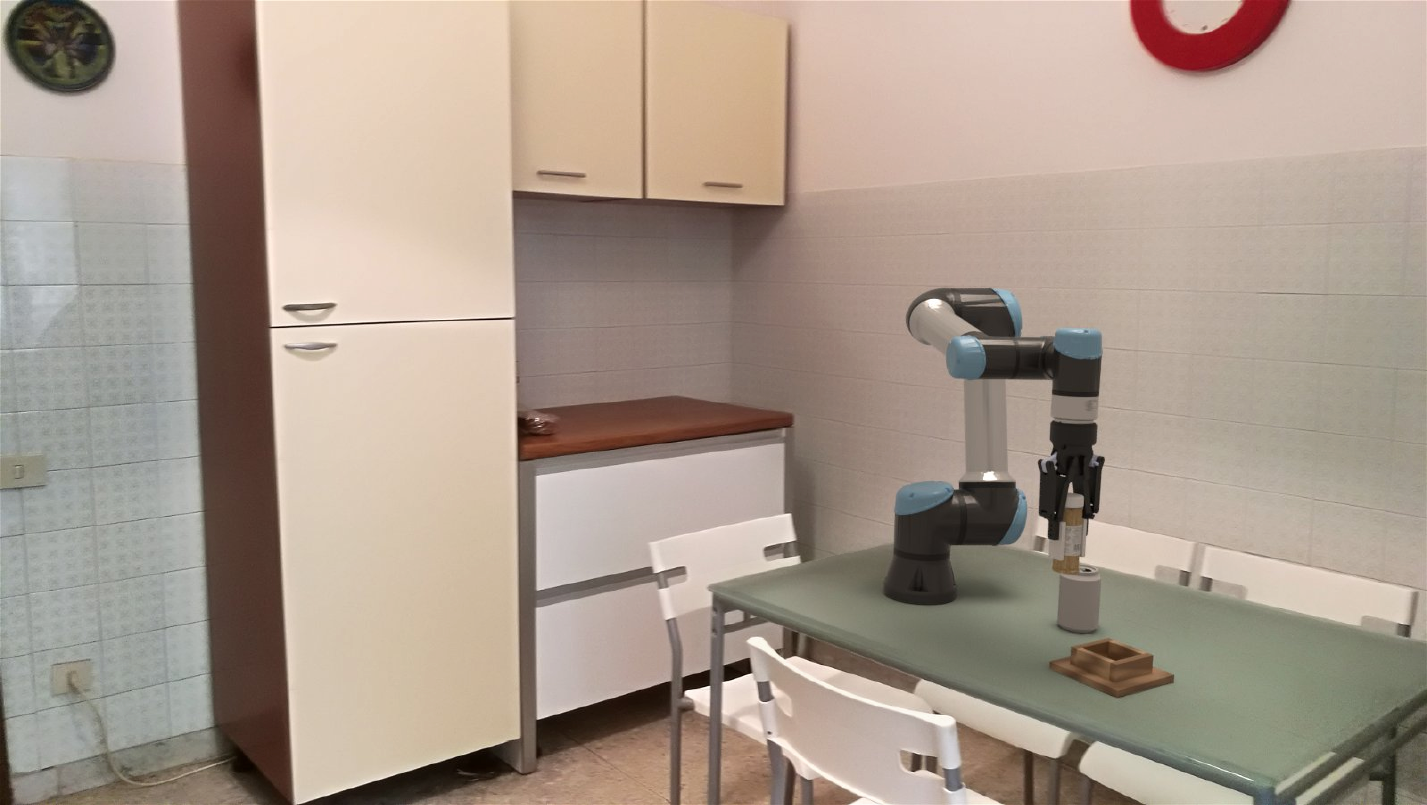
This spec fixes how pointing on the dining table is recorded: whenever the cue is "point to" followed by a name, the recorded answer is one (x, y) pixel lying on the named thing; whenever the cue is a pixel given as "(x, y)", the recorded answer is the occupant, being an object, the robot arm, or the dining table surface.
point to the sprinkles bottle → (1071, 536)
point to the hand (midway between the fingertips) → (1066, 556)
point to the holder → (1112, 667)
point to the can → (1079, 600)
